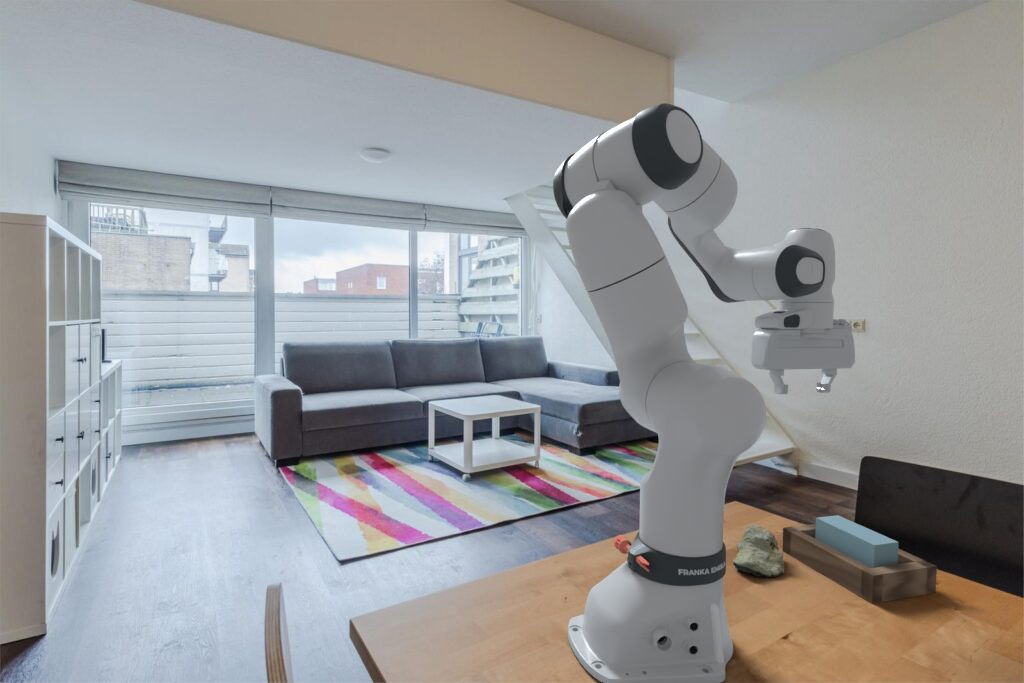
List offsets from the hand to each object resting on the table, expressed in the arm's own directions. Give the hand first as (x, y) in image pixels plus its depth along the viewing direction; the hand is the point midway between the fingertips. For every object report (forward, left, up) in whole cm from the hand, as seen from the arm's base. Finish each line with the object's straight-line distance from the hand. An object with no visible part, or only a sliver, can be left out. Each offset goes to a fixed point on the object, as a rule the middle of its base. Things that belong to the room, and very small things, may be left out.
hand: (802, 393), depth 99 cm
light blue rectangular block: (+5, -8, -27) cm, 29 cm away
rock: (-10, -2, -31) cm, 33 cm away
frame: (+5, -8, -31) cm, 32 cm away
